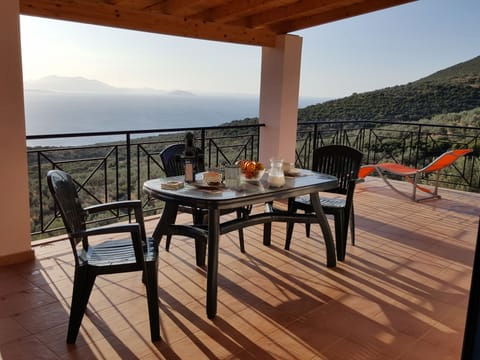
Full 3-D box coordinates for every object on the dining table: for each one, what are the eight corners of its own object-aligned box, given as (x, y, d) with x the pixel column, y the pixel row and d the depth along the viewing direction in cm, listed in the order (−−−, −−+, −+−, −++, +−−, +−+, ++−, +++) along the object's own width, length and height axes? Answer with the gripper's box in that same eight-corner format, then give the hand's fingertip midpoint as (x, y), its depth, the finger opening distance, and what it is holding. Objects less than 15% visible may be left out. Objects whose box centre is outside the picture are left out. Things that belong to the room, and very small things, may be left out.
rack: (170, 184, 291) (170, 180, 290) (184, 186, 287) (184, 181, 286) (161, 188, 280) (161, 183, 279) (174, 189, 276) (174, 185, 275)
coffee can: (223, 184, 294) (224, 164, 291) (239, 184, 296) (239, 164, 293) (226, 188, 284) (226, 166, 281) (241, 187, 286) (242, 166, 283)
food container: (228, 182, 303) (228, 168, 301) (224, 183, 297) (224, 169, 295) (211, 180, 307) (211, 166, 305) (207, 182, 301) (208, 168, 299)
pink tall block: (186, 178, 284) (186, 163, 282) (192, 179, 284) (192, 163, 282) (185, 180, 279) (185, 164, 277) (192, 180, 279) (192, 164, 277)
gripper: (174, 141, 280) (173, 161, 271) (204, 142, 281) (203, 161, 273) (175, 152, 289) (174, 171, 281) (204, 152, 290) (203, 172, 282)
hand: (188, 169), depth 279 cm, fingers closed on pink tall block, 4 cm apart
